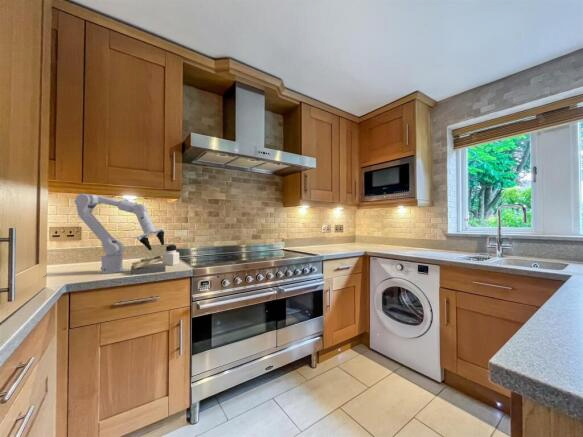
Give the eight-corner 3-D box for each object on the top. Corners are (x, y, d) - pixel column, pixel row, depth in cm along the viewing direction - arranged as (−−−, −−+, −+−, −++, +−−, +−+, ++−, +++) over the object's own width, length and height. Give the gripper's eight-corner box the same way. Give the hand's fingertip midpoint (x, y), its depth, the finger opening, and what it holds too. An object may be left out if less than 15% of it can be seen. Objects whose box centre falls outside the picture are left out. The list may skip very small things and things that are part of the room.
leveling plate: (133, 268, 131) (132, 263, 131) (132, 265, 141) (130, 259, 140) (163, 260, 139) (162, 255, 138) (160, 257, 149) (158, 252, 148)
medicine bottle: (179, 263, 163) (179, 244, 163) (173, 265, 156) (173, 245, 156) (168, 263, 164) (168, 244, 164) (162, 265, 157) (162, 245, 157)
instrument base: (132, 275, 130) (132, 269, 130) (131, 270, 141) (131, 265, 141) (165, 271, 139) (165, 266, 139) (161, 267, 150) (161, 263, 150)
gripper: (136, 227, 134) (147, 251, 136) (162, 219, 146) (172, 241, 148) (131, 230, 139) (141, 253, 140) (156, 222, 150) (166, 243, 152)
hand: (157, 247), depth 144 cm, fingers open, 7 cm apart
